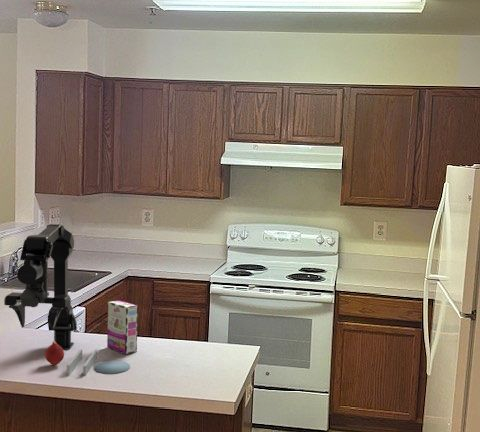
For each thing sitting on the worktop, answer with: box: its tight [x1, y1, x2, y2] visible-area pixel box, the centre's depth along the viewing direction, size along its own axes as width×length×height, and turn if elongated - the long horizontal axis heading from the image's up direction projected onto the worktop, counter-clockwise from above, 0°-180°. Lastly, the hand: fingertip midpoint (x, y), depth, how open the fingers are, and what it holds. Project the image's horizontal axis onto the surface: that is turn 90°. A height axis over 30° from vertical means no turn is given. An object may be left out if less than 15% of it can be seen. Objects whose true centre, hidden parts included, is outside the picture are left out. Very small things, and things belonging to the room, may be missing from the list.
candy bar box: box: [106, 299, 139, 355], centre depth 228 cm, size 11×5×16 cm, turn 47°
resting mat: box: [94, 360, 131, 375], centre depth 210 cm, size 11×11×1 cm
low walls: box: [66, 349, 98, 376], centre depth 210 cm, size 16×6×3 cm, turn 0°
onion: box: [44, 340, 65, 367], centre depth 210 cm, size 6×6×8 cm
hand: (37, 327), depth 201 cm, fingers open, 9 cm apart
